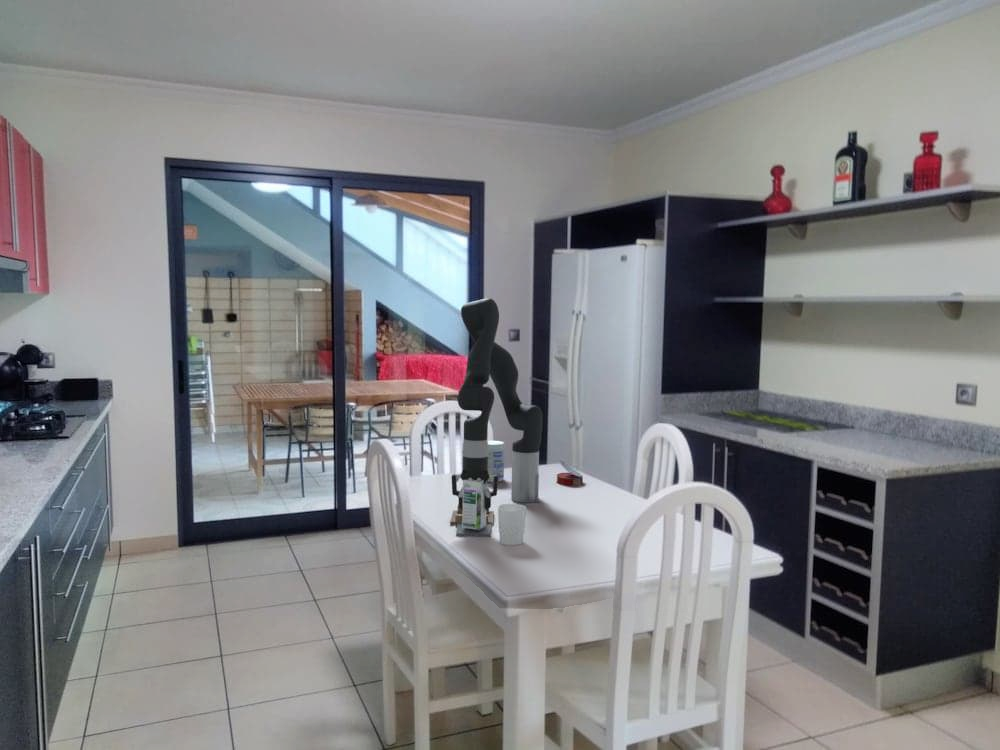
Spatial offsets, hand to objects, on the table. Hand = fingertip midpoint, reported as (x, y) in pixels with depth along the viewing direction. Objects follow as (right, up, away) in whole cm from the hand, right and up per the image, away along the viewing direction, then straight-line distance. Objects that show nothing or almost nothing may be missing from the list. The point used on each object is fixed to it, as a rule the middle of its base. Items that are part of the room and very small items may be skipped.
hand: (474, 509), depth 215 cm
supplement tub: (+4, -1, +65) cm, 65 cm away
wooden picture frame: (-1, -5, +12) cm, 14 cm away
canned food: (+34, -2, +63) cm, 72 cm away
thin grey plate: (0, -7, 0) cm, 7 cm away
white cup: (+11, -8, -9) cm, 16 cm away
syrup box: (0, -5, 0) cm, 5 cm away
